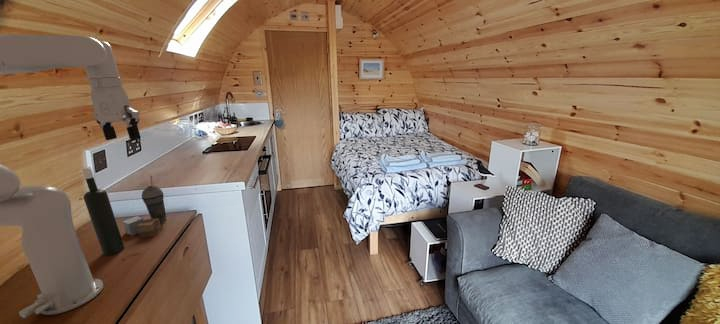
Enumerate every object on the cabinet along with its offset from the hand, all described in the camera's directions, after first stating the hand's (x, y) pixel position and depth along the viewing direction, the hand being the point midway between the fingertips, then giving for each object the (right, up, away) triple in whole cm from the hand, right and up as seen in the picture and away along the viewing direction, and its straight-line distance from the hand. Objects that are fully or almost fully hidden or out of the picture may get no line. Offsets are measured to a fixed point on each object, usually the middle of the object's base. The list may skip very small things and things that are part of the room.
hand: (123, 138), depth 95 cm
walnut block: (-3, -35, +17) cm, 39 cm away
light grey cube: (-10, -34, +19) cm, 41 cm away
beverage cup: (-6, -32, +26) cm, 42 cm away
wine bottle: (-8, -38, +6) cm, 39 cm away
